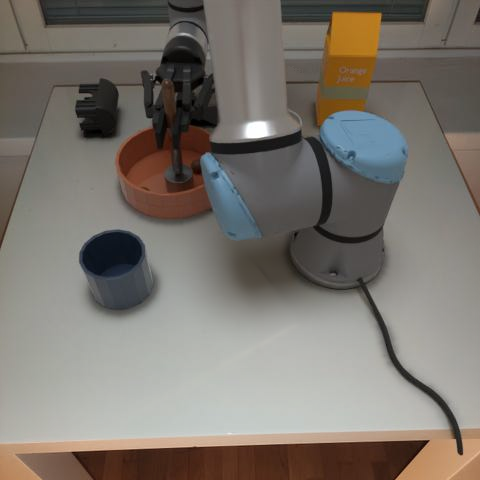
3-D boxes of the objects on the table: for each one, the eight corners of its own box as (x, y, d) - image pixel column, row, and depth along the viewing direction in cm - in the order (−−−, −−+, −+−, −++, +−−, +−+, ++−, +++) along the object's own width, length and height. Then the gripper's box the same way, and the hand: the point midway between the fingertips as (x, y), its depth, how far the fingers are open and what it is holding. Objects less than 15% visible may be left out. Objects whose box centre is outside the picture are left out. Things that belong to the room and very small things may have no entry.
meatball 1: (155, 192, 83) (147, 203, 83) (150, 193, 85) (142, 204, 85) (144, 183, 82) (136, 194, 82) (139, 184, 84) (132, 195, 84)
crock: (163, 295, 74) (156, 261, 67) (107, 321, 71) (94, 289, 65) (137, 255, 78) (128, 220, 72) (83, 279, 76) (69, 245, 69)
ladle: (199, 189, 85) (190, 83, 68) (174, 199, 84) (159, 93, 67) (185, 173, 87) (173, 66, 71) (161, 183, 86) (143, 76, 69)
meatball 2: (206, 172, 88) (205, 161, 86) (195, 177, 88) (194, 166, 86) (200, 165, 90) (199, 154, 88) (189, 169, 89) (188, 159, 87)
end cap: (118, 137, 95) (111, 106, 89) (83, 139, 95) (73, 107, 89) (122, 108, 101) (115, 77, 95) (88, 109, 100) (79, 78, 95)
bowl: (245, 195, 86) (246, 169, 81) (150, 236, 81) (145, 210, 76) (194, 139, 95) (192, 111, 90) (105, 172, 89) (98, 145, 84)
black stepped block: (156, 127, 97) (152, 106, 93) (159, 106, 101) (156, 85, 97) (216, 126, 97) (215, 105, 93) (217, 105, 101) (216, 85, 97)
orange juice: (360, 127, 98) (385, 23, 81) (317, 126, 98) (333, 22, 81) (355, 104, 102) (379, 1, 85) (314, 103, 102) (330, 0, 85)
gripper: (226, 79, 87) (217, 164, 74) (146, 76, 87) (122, 160, 74) (226, 36, 81) (215, 120, 68) (139, 33, 81) (112, 117, 68)
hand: (167, 141), depth 71 cm, fingers closed on ladle, 2 cm apart
